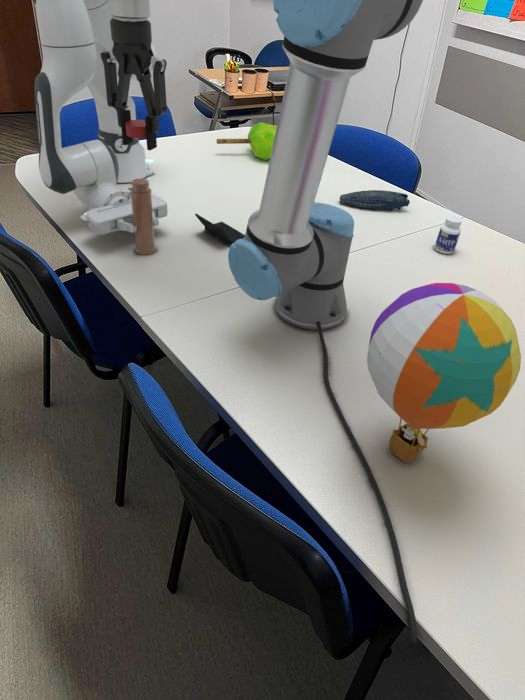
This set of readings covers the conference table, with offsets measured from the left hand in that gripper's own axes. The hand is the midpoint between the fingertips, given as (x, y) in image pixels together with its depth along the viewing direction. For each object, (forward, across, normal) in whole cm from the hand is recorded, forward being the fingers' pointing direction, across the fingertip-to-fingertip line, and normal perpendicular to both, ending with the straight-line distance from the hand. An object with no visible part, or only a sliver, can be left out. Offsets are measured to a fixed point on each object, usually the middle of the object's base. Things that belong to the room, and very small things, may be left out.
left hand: (145, 226), depth 124 cm
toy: (+79, -4, +7) cm, 80 cm away
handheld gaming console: (+4, +20, +7) cm, 21 cm away
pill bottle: (+45, +65, +7) cm, 79 cm away
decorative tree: (-38, +72, +7) cm, 82 cm away
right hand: (0, 0, -19) cm, 19 cm away
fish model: (+15, +72, +7) cm, 73 cm away
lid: (0, 0, -23) cm, 23 cm away
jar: (-1, 0, +7) cm, 7 cm away
